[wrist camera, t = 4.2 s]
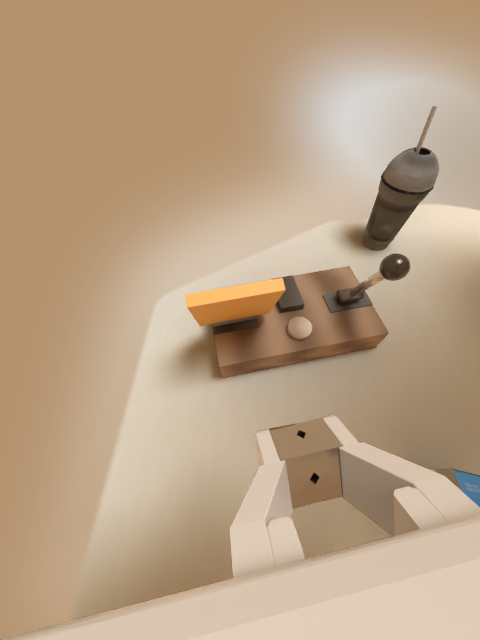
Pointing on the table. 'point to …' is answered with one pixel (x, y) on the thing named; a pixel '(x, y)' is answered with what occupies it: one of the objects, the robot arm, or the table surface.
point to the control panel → (301, 326)
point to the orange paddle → (235, 302)
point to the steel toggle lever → (377, 277)
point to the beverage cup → (401, 192)
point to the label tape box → (463, 482)
